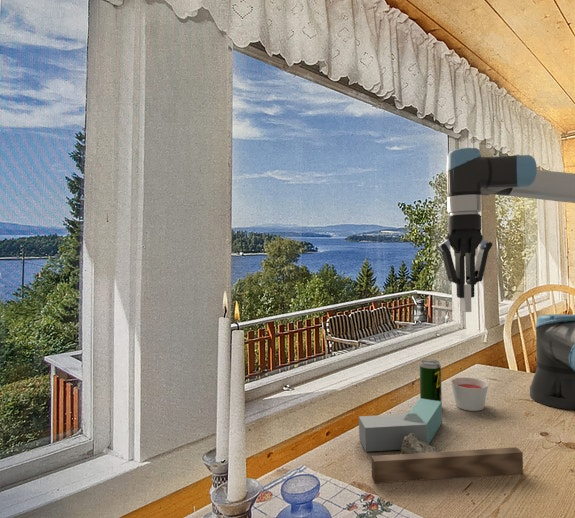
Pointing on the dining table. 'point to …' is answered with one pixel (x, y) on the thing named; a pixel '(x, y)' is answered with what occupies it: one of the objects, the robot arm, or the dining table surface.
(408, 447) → the rock sample
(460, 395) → the white cup
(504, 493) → the dining table surface
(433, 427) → the grey teal angled block
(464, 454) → the walnut wall
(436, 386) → the beer can
